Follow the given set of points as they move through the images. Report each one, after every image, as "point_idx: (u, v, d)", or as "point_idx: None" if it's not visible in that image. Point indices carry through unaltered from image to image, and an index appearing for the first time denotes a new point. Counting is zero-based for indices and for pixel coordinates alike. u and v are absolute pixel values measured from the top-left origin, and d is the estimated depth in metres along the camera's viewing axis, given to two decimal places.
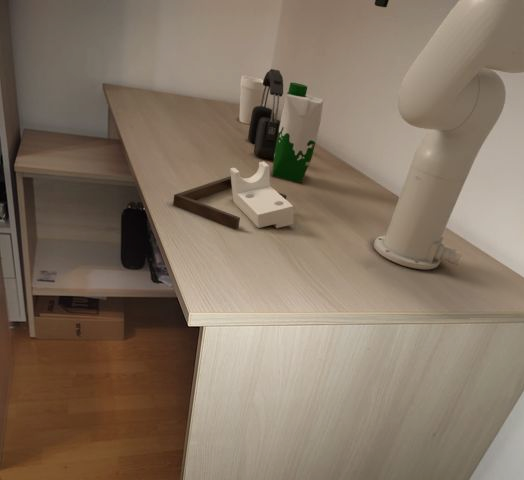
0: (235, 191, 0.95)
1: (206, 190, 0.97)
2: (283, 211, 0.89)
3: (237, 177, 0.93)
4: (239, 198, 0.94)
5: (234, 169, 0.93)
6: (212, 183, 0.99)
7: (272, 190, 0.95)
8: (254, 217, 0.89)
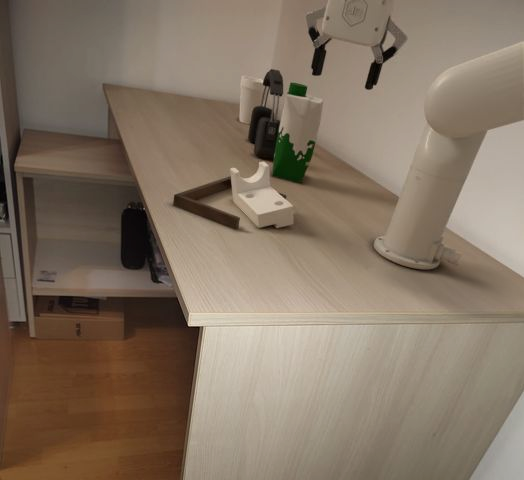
0: (235, 191, 0.95)
1: (206, 190, 0.97)
2: (283, 211, 0.89)
3: (237, 177, 0.93)
4: (239, 198, 0.94)
5: (234, 169, 0.93)
6: (212, 183, 0.99)
7: (272, 190, 0.95)
8: (254, 217, 0.89)
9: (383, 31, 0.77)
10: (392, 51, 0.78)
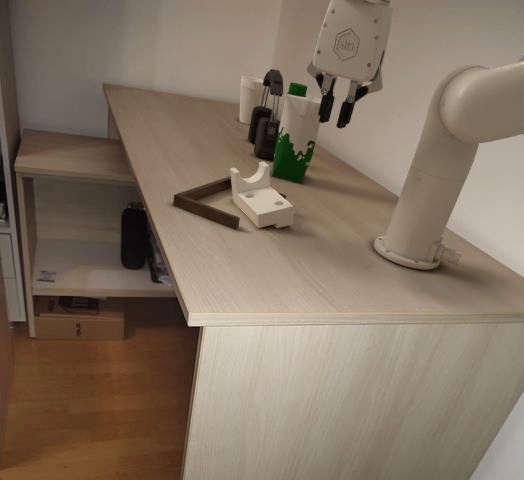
0: (235, 191, 0.95)
1: (206, 190, 0.97)
2: (283, 211, 0.89)
3: (237, 177, 0.93)
4: (239, 198, 0.94)
5: (234, 169, 0.93)
6: (212, 183, 0.99)
7: (272, 190, 0.95)
8: (254, 217, 0.89)
9: (376, 66, 0.73)
10: (363, 91, 0.76)
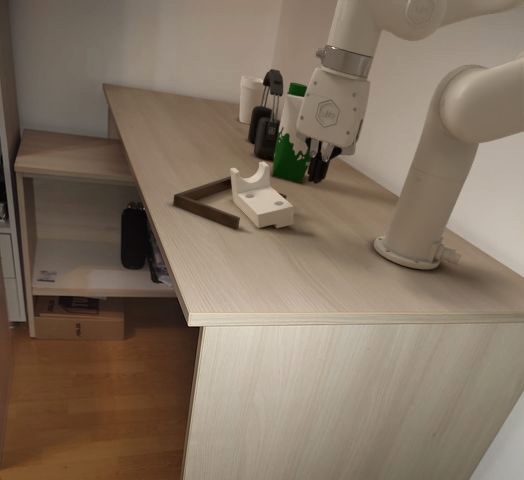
0: (235, 191, 0.95)
1: (206, 190, 0.97)
2: (283, 211, 0.89)
3: (237, 177, 0.93)
4: (239, 198, 0.94)
5: (234, 169, 0.93)
6: (212, 183, 0.99)
7: (272, 190, 0.95)
8: (254, 217, 0.89)
9: (355, 134, 0.79)
10: (337, 152, 0.82)
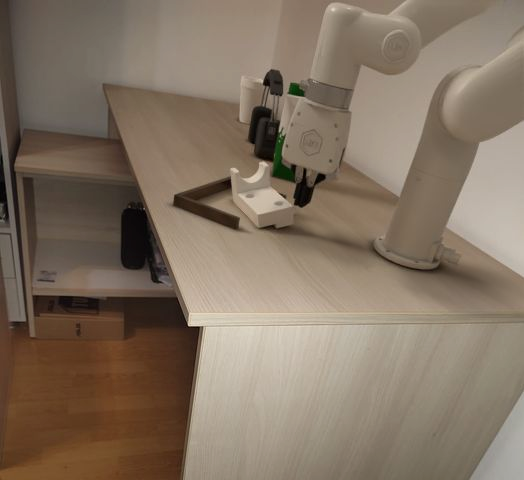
0: (235, 191, 0.95)
1: (206, 190, 0.97)
2: (283, 211, 0.89)
3: (237, 177, 0.93)
4: (239, 198, 0.94)
5: (234, 169, 0.93)
6: (212, 183, 0.99)
7: (272, 190, 0.95)
8: (254, 217, 0.89)
9: (337, 162, 0.82)
10: (321, 178, 0.85)
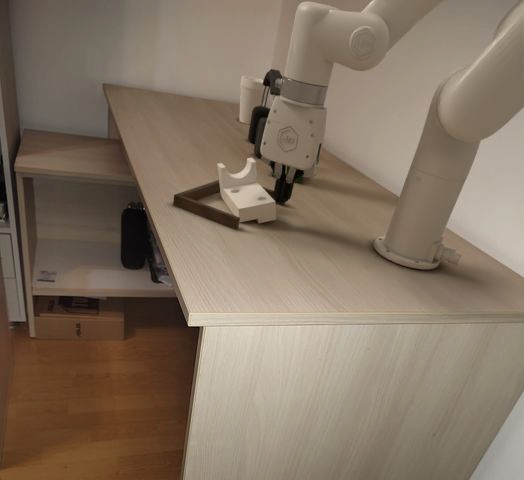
0: (222, 186, 0.96)
1: (206, 190, 0.97)
2: (265, 206, 0.89)
3: (223, 172, 0.94)
4: (225, 193, 0.95)
5: (221, 164, 0.94)
6: (212, 183, 0.99)
7: (258, 186, 0.96)
8: (236, 211, 0.90)
9: (314, 157, 0.83)
10: (299, 174, 0.87)
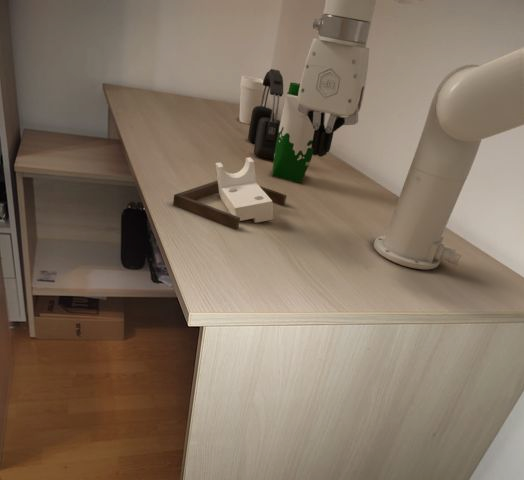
0: (220, 185, 0.96)
1: (206, 190, 0.97)
2: (262, 206, 0.89)
3: (221, 171, 0.94)
4: (223, 192, 0.95)
5: (219, 164, 0.95)
6: (212, 183, 0.99)
7: (256, 185, 0.96)
8: (233, 210, 0.90)
9: (357, 102, 0.79)
10: (340, 122, 0.82)
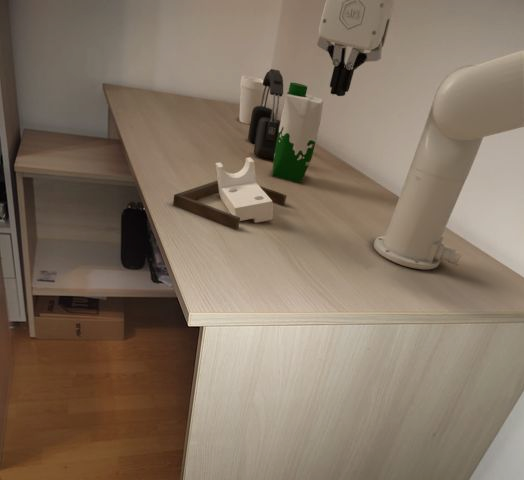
0: (220, 185, 0.96)
1: (206, 190, 0.97)
2: (262, 206, 0.89)
3: (221, 171, 0.94)
4: (223, 192, 0.95)
5: (219, 164, 0.95)
6: (212, 183, 0.99)
7: (256, 185, 0.96)
8: (233, 210, 0.90)
9: (381, 34, 0.75)
10: (362, 57, 0.78)
